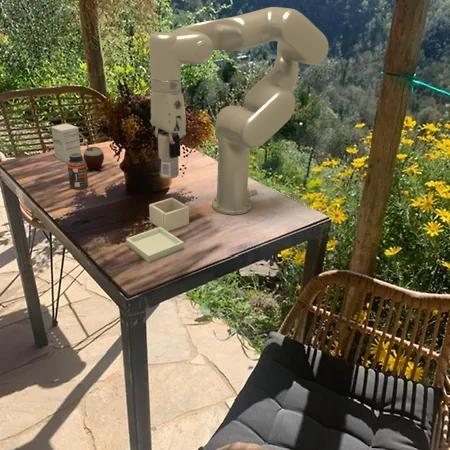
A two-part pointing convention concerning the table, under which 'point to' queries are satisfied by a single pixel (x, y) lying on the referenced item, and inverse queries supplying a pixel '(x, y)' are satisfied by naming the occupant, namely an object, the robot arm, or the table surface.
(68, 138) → the supplement box
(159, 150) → the energy drink
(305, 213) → the table surface
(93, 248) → the table surface
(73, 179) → the supplement bottle
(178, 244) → the tray
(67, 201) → the table surface
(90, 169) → the mate gourd
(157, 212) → the can holder
